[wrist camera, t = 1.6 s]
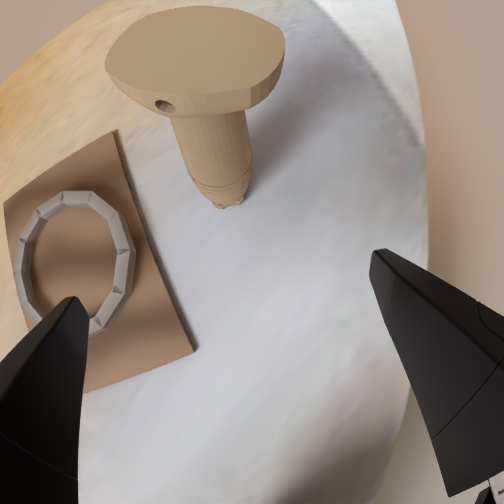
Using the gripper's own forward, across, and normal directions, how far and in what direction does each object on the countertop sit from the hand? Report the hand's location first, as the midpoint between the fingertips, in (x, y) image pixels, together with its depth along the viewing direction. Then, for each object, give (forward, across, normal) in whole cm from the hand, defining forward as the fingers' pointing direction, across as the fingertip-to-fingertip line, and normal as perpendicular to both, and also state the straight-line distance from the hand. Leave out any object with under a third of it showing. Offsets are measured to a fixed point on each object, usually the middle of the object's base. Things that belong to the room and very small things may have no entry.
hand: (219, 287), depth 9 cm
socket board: (+13, +13, +7) cm, 20 cm away
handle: (+16, 0, +4) cm, 16 cm away
